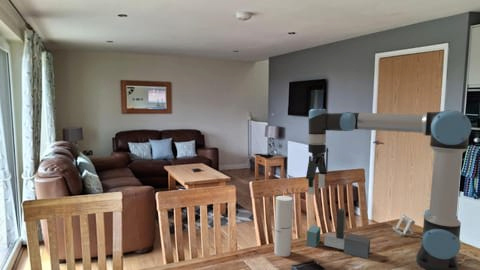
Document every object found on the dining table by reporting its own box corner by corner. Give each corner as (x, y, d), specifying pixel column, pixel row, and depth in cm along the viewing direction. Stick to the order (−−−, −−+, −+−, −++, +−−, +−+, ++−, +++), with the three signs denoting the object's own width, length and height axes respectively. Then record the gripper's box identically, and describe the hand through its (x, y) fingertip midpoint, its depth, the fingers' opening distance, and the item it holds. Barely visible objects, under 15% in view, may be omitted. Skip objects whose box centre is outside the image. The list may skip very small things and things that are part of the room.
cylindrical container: (290, 257, 139) (292, 201, 137) (273, 255, 141) (275, 199, 138) (290, 250, 146) (292, 196, 144) (275, 248, 148) (276, 195, 145)
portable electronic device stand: (392, 230, 172) (393, 214, 171) (406, 229, 172) (407, 214, 171) (401, 236, 163) (402, 220, 162) (416, 236, 164) (417, 220, 163)
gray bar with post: (366, 250, 144) (369, 213, 143) (365, 254, 140) (367, 216, 139) (326, 241, 153) (328, 206, 151) (324, 245, 149) (325, 208, 147)
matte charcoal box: (369, 252, 145) (370, 237, 144) (367, 258, 139) (368, 243, 138) (346, 247, 150) (347, 232, 149) (343, 253, 144) (344, 238, 143)
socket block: (320, 240, 156) (320, 227, 156) (315, 247, 149) (316, 232, 148) (311, 239, 158) (312, 225, 158) (306, 245, 151) (307, 231, 150)
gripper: (318, 141, 155) (317, 184, 156) (298, 145, 134) (298, 195, 135) (333, 142, 151) (333, 186, 152) (315, 146, 130) (315, 198, 131)
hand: (316, 191), depth 144 cm, fingers open, 13 cm apart
